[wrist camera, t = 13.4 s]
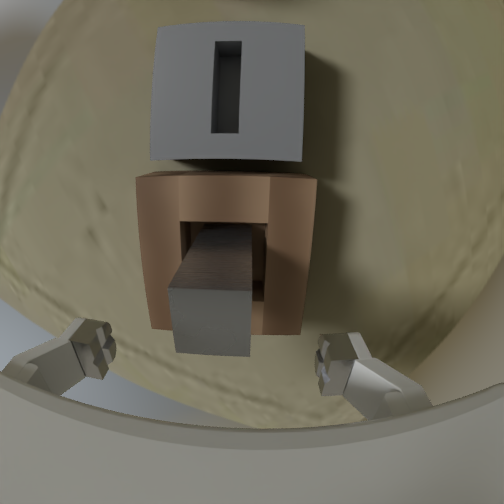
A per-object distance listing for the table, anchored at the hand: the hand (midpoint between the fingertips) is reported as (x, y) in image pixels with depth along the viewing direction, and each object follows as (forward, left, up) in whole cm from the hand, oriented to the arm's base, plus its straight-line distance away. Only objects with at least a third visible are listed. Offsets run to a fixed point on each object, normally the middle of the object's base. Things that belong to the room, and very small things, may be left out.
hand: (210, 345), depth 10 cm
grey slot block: (0, -11, -12) cm, 16 cm away
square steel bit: (0, 0, -12) cm, 12 cm away
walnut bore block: (0, 0, -12) cm, 12 cm away
